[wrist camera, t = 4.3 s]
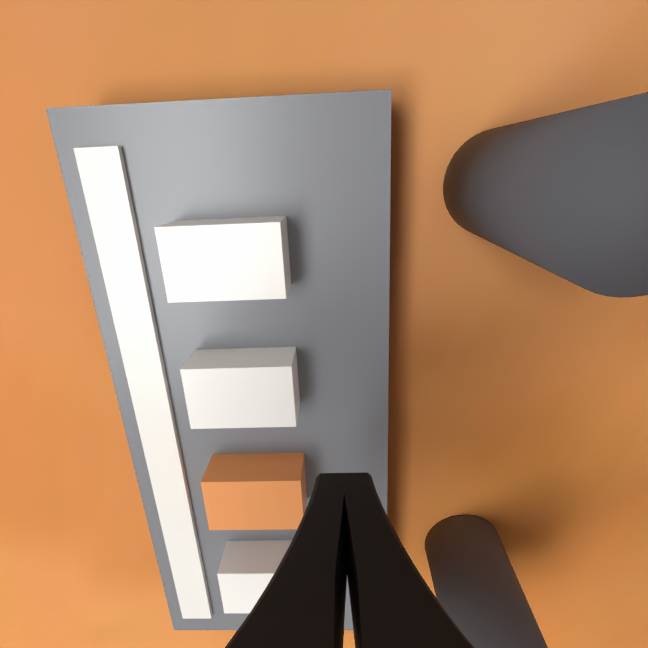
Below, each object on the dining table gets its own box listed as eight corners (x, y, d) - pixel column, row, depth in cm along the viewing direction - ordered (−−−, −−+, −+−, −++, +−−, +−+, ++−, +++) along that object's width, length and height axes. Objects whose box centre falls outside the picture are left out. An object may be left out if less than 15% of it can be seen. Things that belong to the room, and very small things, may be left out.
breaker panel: (88, 116, 13) (6, 100, 10) (383, 100, 13) (399, 78, 9) (189, 586, 20) (161, 666, 17) (381, 585, 20) (389, 667, 16)
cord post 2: (513, 546, 19) (610, 754, 12) (453, 580, 19) (514, 793, 13) (469, 502, 18) (548, 700, 11) (410, 540, 19) (449, 744, 12)
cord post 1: (566, 187, 13) (790, 208, 7) (482, 255, 14) (607, 332, 8) (508, 103, 13) (697, 34, 6) (422, 180, 13) (505, 194, 7)
